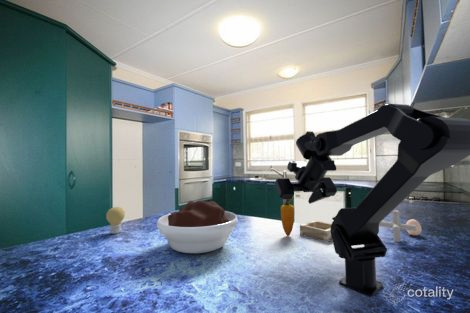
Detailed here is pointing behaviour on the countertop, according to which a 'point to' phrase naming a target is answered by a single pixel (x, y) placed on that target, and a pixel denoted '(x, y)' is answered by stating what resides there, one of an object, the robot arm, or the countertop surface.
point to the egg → (418, 227)
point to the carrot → (287, 217)
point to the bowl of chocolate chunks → (197, 227)
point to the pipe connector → (397, 226)
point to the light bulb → (115, 219)
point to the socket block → (316, 230)
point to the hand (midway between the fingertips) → (296, 203)
